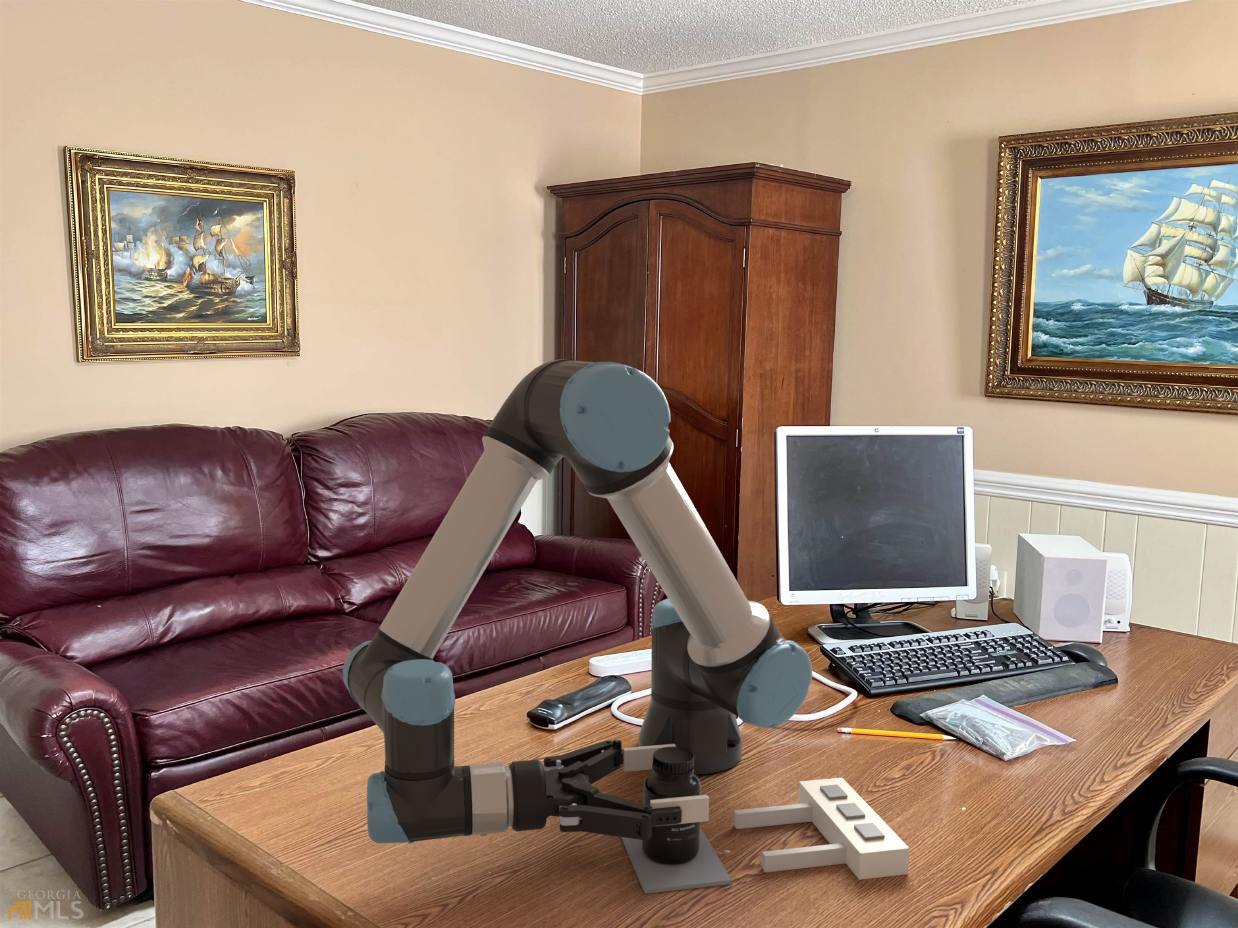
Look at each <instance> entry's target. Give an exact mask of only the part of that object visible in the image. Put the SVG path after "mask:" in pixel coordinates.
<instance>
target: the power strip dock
mask: <svg viewBox="0 0 1238 928" xmlns="http://www.w3.org/2000/svg"><path fill="white" fill-rule="evenodd" d="M809 822H810V823H811V822H812V823H813V825H814V826H815V827H816V828H817V829H818V831H819V832H820V833H821V834H822V836H823V837H824V838H825V840H826V841H827V842H828V843H829V844H821V845H813V846H811V845H810V846H803V847H793V848H784V849H776V850H766V851H761V869H762V870H763V872H764V873H772V872H782V871H789V870H791V871H792V870H798V869H799V870H800V869H807V868H816V867H824V866H825V867H827V866H835V865H844V864H845V865H847V867H848V868H849V869H850V870H851V872H852V873H853V874H854V876H855V877H857V879H858V880H860V881H861V880H868V879H877V878H885V877H886V878H887V877H895V876H902V875H903V876H905V875H908V874H909V860H910V847H909V846H908V845H907V844H906V843H905V842H904V841H903V840H902V839H901V838H900V836H898V834H897V833H896V832H895V831H894V830H893V829H892V828H891V827H890V826H889V825H888V824H887V823H886V822H885V820H884V819H882V818H881V816H880V815H879V814H878V813H876V812H875V811H874V809H873V808H872V807H871V806H870V805H869V804H868V803H867V802H866V801H865V800H864V799H863V798H862V797H861V796H860V795H859V793H857V791H856V790H855V789H854V788H853V787H851V785H850V784H849V783H848V782H847V781H846V780H845V779H844V778H843V777H834V778H822V779H813V780H812V779H810V780H802V781H799V782H798V801H797V803H795V804H794V803H793V804H785V805H774V806H773V805H772V806H763V807H754V808H745V809H744V808H742V809H734V810H733V826H734V827H735V829H736V830H741V829H742V830H743V829H751V828H753V829H754V828H761V827H770V826H771V827H772V826H779V825H780V826H781V825H790V824H801V823H809Z"/></svg>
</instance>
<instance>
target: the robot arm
mask: <svg viewBox="0 0 1238 928" xmlns="http://www.w3.org/2000/svg"><path fill="white" fill-rule="evenodd" d="M670 423H671V410H670V406H669V402H668V400H667V398H666V396H665V393H664V391H663V390H662V388H661V387H660V386H659V385H658V383H657V382H655V380H654V379H653V378H652V377H651V376H649V375H648V374H646V373H645V372H643V371H641V370H640V369H637V368H635V367H632V366H629V365H626V364H622V363H619V362H616V361H615V362H613V361H596V362H594V361H584V360H582V361H581V360H575V359H568V358H565V359H564V358H563V359H562V358H561V359H553V360H551V361H548V362H545V363H542V364H541V365H538V366H537V367H535V368H533V369H532V370H531V371H530V372H528V373H527V374H526V375H525V376H524V377H523V378H522V379H521V380H520V381H519V382H518V383H517V385H516V386H515V387H514V388H513V389H512V391H511V392H510V394H509V395H508V396H507V398H506V399H505V401H504V402H503V404H502V405H501V407H500V408H499V410H498V412H497V413H496V415H495V416H494V417H493V419H492V421H491V422H490V424H489V426H488V428H487V429H486V430H485V433H484V435H483V436H482V437H481V441H482V444H483V449H484V450H483V452H482V454H481V455H480V457H479V459H478V461H477V462H476V464H475V466H474V467H473V469H472V471H471V473H469V475H468V477H467V479H466V481H465V482H464V485H462V488H461V489H460V491H459V493H458V494H457V496H456V498H455V500H454V501H453V503H452V504H451V506H450V508H449V509H448V511H447V512H446V514H445V516H444V518H443V519H442V522H441V523H440V525H439V526H438V527H437V530H436V531H435V532H434V535H433V536H432V538H431V540H430V542H429V543H428V545H427V546H426V548H425V550H424V552H423V553H422V554H421V556H420V558H419V560H418V561H417V564H416V565H415V567H414V568H413V570H412V572H411V573H410V575H409V577H408V579H407V581H406V582H405V583H404V586H402V589H401V590H400V592H399V593H398V595H397V597H396V599H395V601H394V602H393V603H392V605H391V608H390V610H389V611H388V612H387V614H386V616H385V618H384V619H383V621H382V622H381V624H380V625H379V628H378V629H377V630H376V633H375V635H374V636H373V638H372V639H371V640H366V641H364V642H362V643H361V644H358V645H357V646H355V648H353V649H352V650H351V651H350V652H349V653H348V655H347V657H346V658H345V661H344V663H343V666H342V679H343V683H344V685H345V688H346V689H347V691H348V694H350V697H351V698H352V700H353V702H355V703H356V704H357V705H358V706H359V707H360V708H361V709H362V710H363V711H364V712H366V714H367V715H368V716H369V718H370V719H371V720H372V721H373V722H374V723H375V724H376V725H377V727H378V728H379V729H380V730H381V732H382V733H383V738H384V757H385V758H384V759H385V760H384V770H382V771H380V772H375V773H372V774H371V775H369V777H368V779H367V784H366V786H367V787H366V805H367V807H366V808H367V811H366V814H367V815H366V816H367V817H366V820H367V823H366V824H367V833H368V836H369V839H370V840H371V841H372V842H374V843H376V844H400V843H401V844H402V843H403V844H405V843H407V844H413V843H414V842H421V841H430V840H439V839H447V838H448V839H449V838H455V837H456V838H457V837H470V836H477V835H478V836H480V837H486V836H487V835H490V834H499V833H507V830H509V827H511V828H512V830H513V831H515V832H526V831H534V830H543V829H544V828H545V827H546V824H547V819H549V817H559V831H560V832H562V833H573V832H576V833H577V832H578V833H580V832H582V833H583V832H584V833H589V834H597V835H604V836H610V837H618V838H621V837H624V838H631V839H638V840H649V839H650V837H651V836H652V827H654V826H664V825H674V824H684V823H694V822H700V823H702V822H709V821H710V819H709V818H710V797H709V795H708V794H701V795H699V796H689V797H678V798H667V799H657V800H650V805H646V804H643V802H642V803H641V802H638V801H634V800H630V799H627V798H622V797H619V796H615V795H611V794H607V793H604V792H600V790H599V788H598V787H596V786H593V785H592V784H594V783H597V782H598V781H599V780H602V779H603V778H605V777H607V776H608V775H610V774H613V773H614V772H615V771H617V770H619V769H621V768H622V771H623V772H625V773H626V772H636V771H645V770H646V771H648V770H652V763H653V754H654V752H655V751H656V750H657V749H660V748H663V747H679V748H683V749H686V750H689V751H690V752H691V753H693V755H694V774H695V775H707V774H714V773H719V772H723V771H726V770H729V769H732V768H733V767H734V766H736V765H737V764H738V763H740V761H741V759H742V757H743V738H742V734H741V731H740V728H739V724H738V721H737V718H736V717H738V718H739V719H740V720H741V721H742V722H744V723H746V724H751V725H753V726H755V727H758V728H762V729H768V728H775V727H776V728H777V727H779V726H781V725H782V724H784V723H786V722H788V721H789V720H790V719H791V718H793V716H794V715H795V714H796V713H798V711H800V708H801V707H802V706H803V704H804V702H805V701H806V699H807V696H808V694H809V688H810V686H811V684H812V679H813V665H812V662H811V658H810V656H809V654H808V653H807V651H806V650H805V649H804V647H802V646H800V645H799V644H798V643H797V642H796V641H793V640H787V639H786V638H785V637H784V636H783V635H782V634H781V633H780V631H779V629H778V627H777V625H776V623H775V622H774V620H773V618H772V617H771V615H770V614H769V612H768V611H769V610H768V609H767V608H766V607H765V606H764V605H763V604H762V603H759V602H758V601H753V600H748V597H746V595H745V593H744V591H743V590H742V588H741V586H740V584H739V583H738V581H737V579H736V578H735V576H734V573H733V572H732V571H731V569H730V567H729V565H728V563H727V562H726V560H725V558H724V557H723V554H722V553H721V551H720V549H719V547H718V546H717V544H716V542H715V540H714V539H713V536H711V533H710V532H709V530H708V529H707V527H706V524H705V523H704V521H703V520H702V518H701V516H700V514H699V512H698V511H697V508H695V506H694V503H693V501H692V499H691V498H690V496H689V495H688V492H687V491H686V490H685V488H684V486H683V484H682V482H681V480H680V479H679V478H678V476H677V474H676V471H675V470H674V469H673V467H672V465H671V463H670V459H671V456H672V454H673V451H674V442H673V441H672V439H671V437H670V429H669V424H670ZM564 457H565V459H566V460H567V461H568V463H569V464H570V467H572V469H573V471H574V472H575V473H576V475H577V477H578V478H579V480H580V481H581V483H582V484H583V486H584V488H585V489H586V492H587V493H588V494H589V495H591V496H593V497H597V498H604V499H606V500H607V501H608V502H609V504H610V506H611V507H612V509H613V511H614V512H615V514H616V516H617V517H618V519H619V521H620V522H621V524H622V526H623V527H624V528H625V530H626V531H627V532H626V533H627V534H628V535H629V537H630V538H631V540H632V541H633V543H634V545H635V547H636V548H637V550H638V551H639V553H640V554H641V556H642V558H643V560H644V562H645V564H647V566H648V569H650V571H651V573H652V574H653V575H654V578H655V579H656V581H657V583H658V584H659V586H660V587H661V589H662V590H663V592H664V594H665V595H666V597H667V598H665V599H663V600H661V601H659V602H658V603H656V604H655V606H654V607H653V610H652V619H651V625H650V630H651V667H650V668H651V672H650V674H651V675H650V679H651V680H650V681H651V682H650V683H651V685H650V686H651V687H650V688H651V689H650V690H651V691H650V702H649V705H648V708H647V710H646V713H645V717H644V719H643V722H642V725H641V728H640V730H639V733H638V737H637V738H638V742H637V743H638V745H637V746H633V747H623V746H622V745H623V743H622V741H621V740H620V739H613V740H612V739H611V740H610V739H607V740H604V741H603V740H602V741H601V742H598V743H594V744H591V745H589V746H588V745H587V746H585V747H582V748H580V749H576V750H573V751H570V752H566V753H564V754H559V755H551V756H547V757H544V758H543V763H542V761H540V759H529V760H528V759H527V760H515V761H511V763H509V765H508V766H506V765H505V763H503V762H501V761H500V762H488V763H479V764H478V763H477V764H467V765H455V705H456V693H455V690H454V683H453V682H454V680H453V673H452V670H451V669H450V667H448V666H447V665H446V664H445V663H443V662H441V661H439V662H438V661H437V662H436V661H435V660H433V659H434V657H435V656H436V654H437V652H438V650H439V649H440V647H441V645H442V643H443V642H444V640H445V638H446V637H447V635H448V633H449V631H450V629H451V628H452V626H453V625H454V623H455V621H456V619H457V618H458V616H459V614H460V613H461V611H462V610H463V607H464V606H465V604H466V603H467V601H468V599H469V597H470V595H471V594H472V593H473V591H474V589H475V587H476V586H477V584H478V582H479V580H480V579H481V577H482V576H483V573H484V572H485V570H486V569H487V567H488V565H489V563H490V562H491V560H492V559H493V556H494V555H495V553H496V552H497V550H498V548H499V547H500V545H501V543H502V541H503V539H504V538H505V536H506V534H507V533H508V531H509V529H510V527H511V526H512V524H513V522H514V521H515V519H516V517H517V516H518V514H519V513H520V510H521V509H522V507H523V506H524V504H525V502H526V501H527V498H528V497H529V495H530V494H531V492H532V490H533V488H534V487H535V485H536V483H538V481H541V480H544V479H548V478H549V477H550V476H551V473H552V472H553V471H554V468H555V467H556V465H557V464H558V463H559V461H560V460H561V459H563V458H564ZM622 747H623V748H622ZM638 829H639V830H638Z"/></svg>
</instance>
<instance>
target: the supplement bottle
mask: <svg viewBox="0 0 1238 928" xmlns="http://www.w3.org/2000/svg"><path fill="white" fill-rule="evenodd" d="M651 770H652V771H651V772H649V773H648V775H647V776H646V777H645V779H644V781H643V787H642V788H643V789H642V792H643V793H642V804H646V805H650V800H657V799H667V798H678V797H689V796H699V795H702V783H701V781H700V779H699V777H698V776H697V774H694V755H693V753H691V752H690V751H689V750H686V749H683V748H679V747H663V748H660V749H657V750H656V751H655V752H654V754H653V763H652V769H651ZM700 827H701V822H694V823H684V824H674V825H664V826H654V827H652V836H651V837H650V839H649V840H642V849H643V851H644V853H645V854H646V856H647V857H649V858H650V859H652V860H654V861H656V862H659V863H663V864H670V865H675V864H683V863H686V862H689V861H691V860H692V859H694V858H695V857H696V855H697V854H698V851H699V842H700Z"/></svg>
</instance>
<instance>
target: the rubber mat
mask: <svg viewBox="0 0 1238 928" xmlns="http://www.w3.org/2000/svg"><path fill="white" fill-rule="evenodd" d="M638 830H639V829H638ZM620 838H621V841H622V843H623V845H624V848H625V850H626V853H627V855H628V857H629V860H630V862H631V865H632V867H633V869H634V872H635V875H636V876H637V880H638V881H639V884H640V887H641V888H642V892H643V893H644V895H646V894H655V893H656V894H657V893H663V892H672V891H681V890H691V889H700V888H709V887H717V886H725V885H727V886H728V885H732V879H731V876H730V875H729V873H728V871H727V870H726V868H725V867H724V865H723V863H722V861H721V859H720V858H719V856H718V854H717V852H716V851H715V849H714V848H713V845H712V844H711V843H710V841H709V838H708V837H707V836H706V834H705V832H704V830H703V828H702V827H701V826H700V842H699V851H698V854H697V855H696V857H695V858H694V859H692V860H691V861H689V862H686V863H683V864H675V865H670V864H663V863H659V862H656V861H654V860H652V859H650V858H649V857H647V856H646V854H645V853H644V851H643V849H642V840H638V839H631V838H624V837H620Z"/></svg>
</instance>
